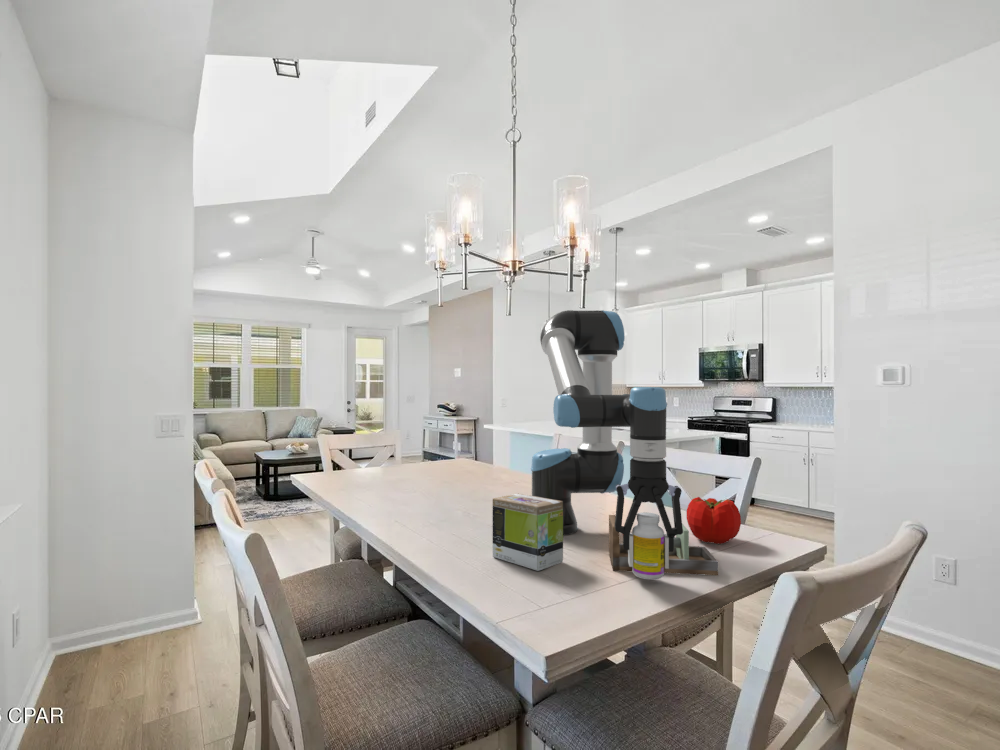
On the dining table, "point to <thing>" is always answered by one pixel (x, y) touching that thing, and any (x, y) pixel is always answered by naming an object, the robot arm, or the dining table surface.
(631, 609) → the dining table surface
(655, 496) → the robot arm
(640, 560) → the supplement bottle
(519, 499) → the tea box
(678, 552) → the pusher
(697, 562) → the lane
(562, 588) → the dining table surface
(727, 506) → the tomato
